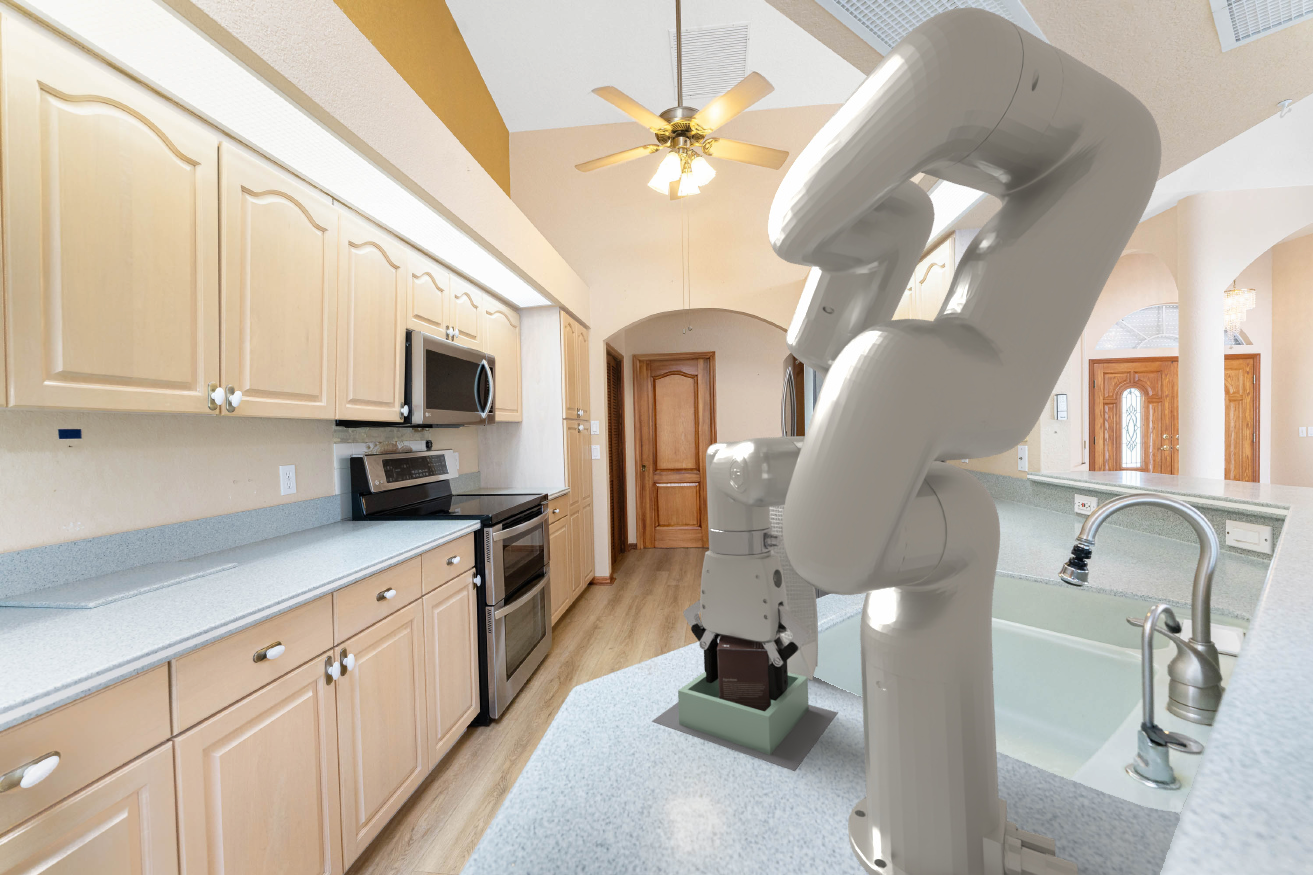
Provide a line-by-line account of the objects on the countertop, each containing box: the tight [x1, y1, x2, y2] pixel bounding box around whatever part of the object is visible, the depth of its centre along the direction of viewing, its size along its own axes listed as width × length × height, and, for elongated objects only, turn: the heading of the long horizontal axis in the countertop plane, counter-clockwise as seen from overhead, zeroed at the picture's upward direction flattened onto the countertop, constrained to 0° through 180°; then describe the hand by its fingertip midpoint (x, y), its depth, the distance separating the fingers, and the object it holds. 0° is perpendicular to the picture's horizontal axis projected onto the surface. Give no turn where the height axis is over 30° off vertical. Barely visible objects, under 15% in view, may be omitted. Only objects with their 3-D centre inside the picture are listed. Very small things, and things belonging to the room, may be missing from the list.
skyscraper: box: [769, 505, 819, 681], centre depth 77 cm, size 8×8×28 cm
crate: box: [677, 671, 810, 755], centre depth 64 cm, size 12×12×4 cm
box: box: [717, 635, 771, 712], centre depth 64 cm, size 6×6×7 cm
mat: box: [651, 701, 839, 772], centre depth 64 cm, size 18×14×1 cm
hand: (745, 686), depth 64 cm, fingers closed on box, 7 cm apart
